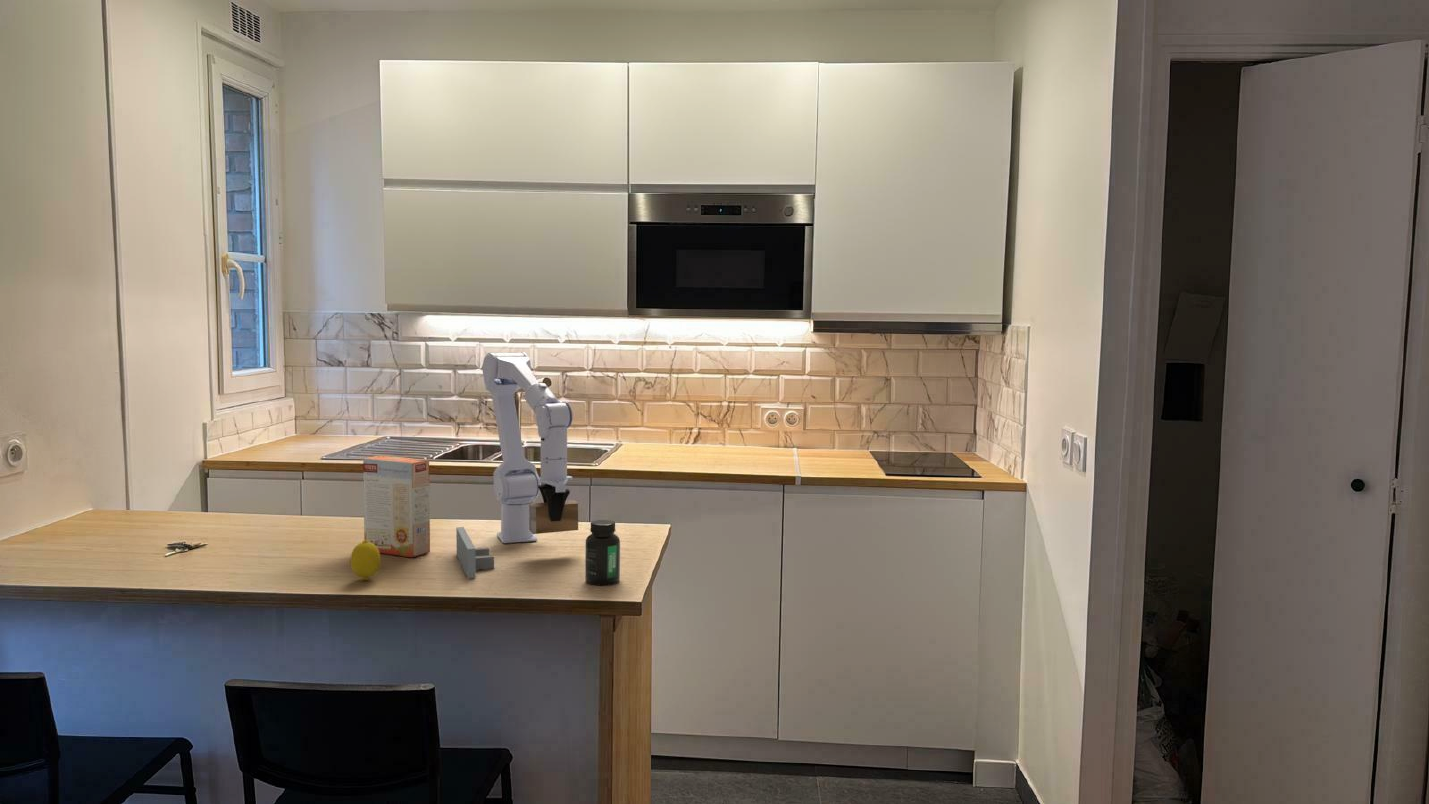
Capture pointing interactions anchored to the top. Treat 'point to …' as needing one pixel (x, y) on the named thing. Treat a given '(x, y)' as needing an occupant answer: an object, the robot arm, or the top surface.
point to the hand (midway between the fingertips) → (553, 518)
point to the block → (543, 524)
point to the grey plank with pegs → (472, 554)
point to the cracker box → (397, 505)
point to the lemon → (365, 560)
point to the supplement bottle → (602, 554)
